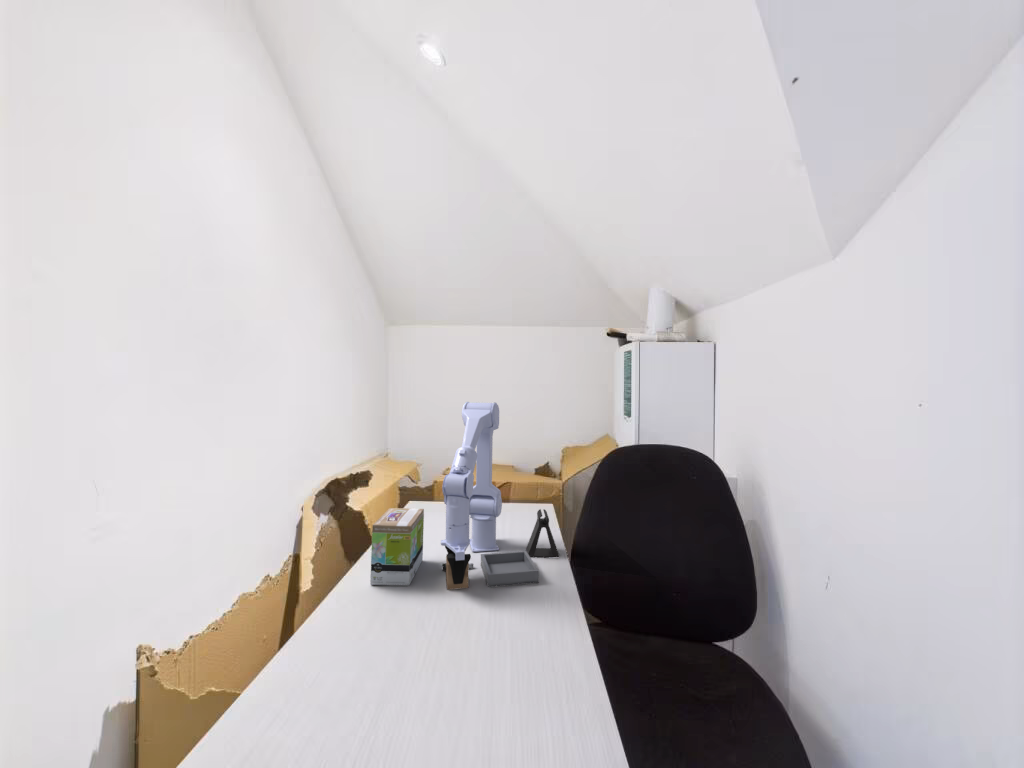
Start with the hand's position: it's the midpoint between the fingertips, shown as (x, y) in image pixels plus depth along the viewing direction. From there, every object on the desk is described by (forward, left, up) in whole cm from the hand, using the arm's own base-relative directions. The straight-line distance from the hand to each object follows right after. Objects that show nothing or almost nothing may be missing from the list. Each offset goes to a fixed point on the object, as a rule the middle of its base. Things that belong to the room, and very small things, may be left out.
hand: (457, 578), depth 103 cm
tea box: (-9, -14, -2) cm, 17 cm away
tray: (-3, +14, -1) cm, 14 cm away
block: (0, 0, -1) cm, 1 cm away
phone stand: (-14, +26, -2) cm, 30 cm away
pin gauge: (-8, +1, -1) cm, 8 cm away
